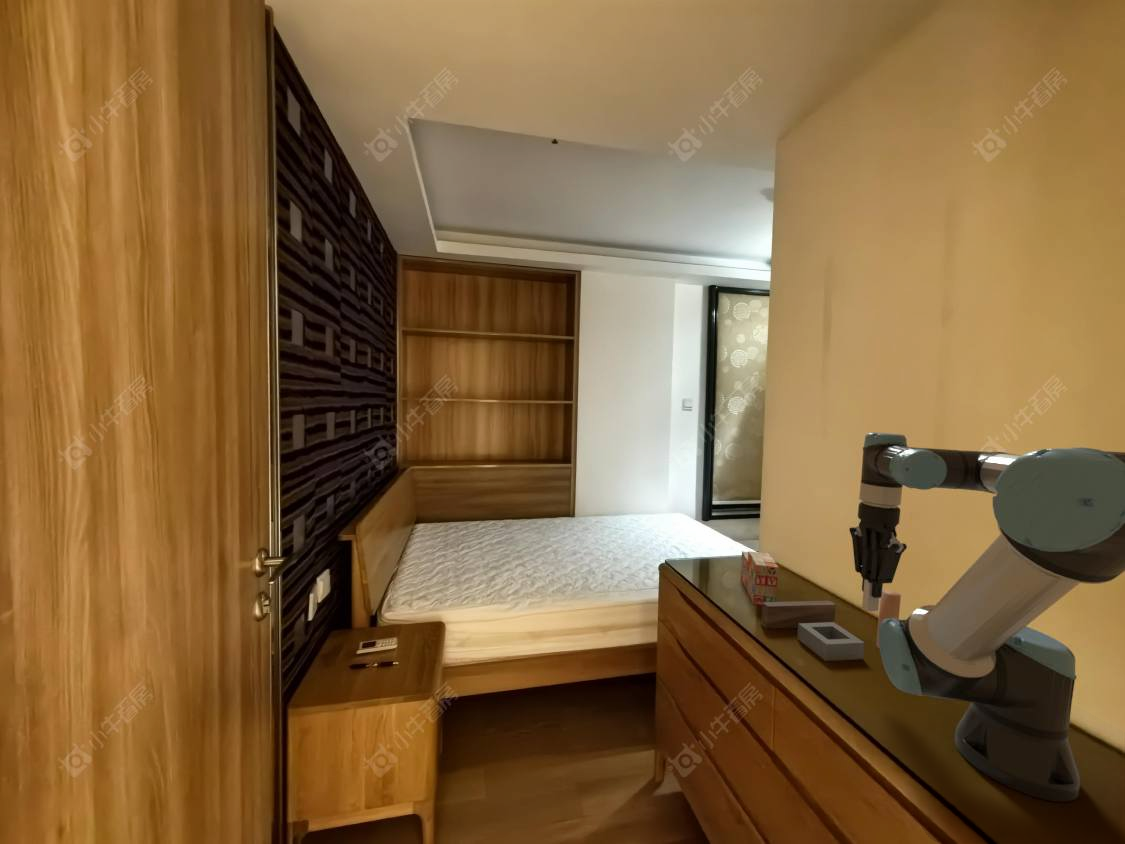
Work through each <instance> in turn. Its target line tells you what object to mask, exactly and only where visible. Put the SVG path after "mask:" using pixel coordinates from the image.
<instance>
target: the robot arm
mask: <svg viewBox="0 0 1125 844" xmlns="http://www.w3.org/2000/svg"><path fill="white" fill-rule="evenodd" d="M907 441H908V440H907V437H906V436H905V434H904V435H903V434H901V433H891V432H890V433H888V432H875V431H874V432H868V433H867V434H866V435H865V437H864V443H863V447H862V462H861V476H860V478H861V479H860V488H859V496H858V499H859V500H860V502H858V507H857V508H858V511H857V518H858V519H859V520H860V522H859V523H858V525H857V526H856V527H849V534H850V536H851V539H852V550H853V562H854V570H855V572H856V573H859V574H860V576H861V578H862V582H861V584H862V585H861V591H862V593H863V594H862V603H861V604H862V605H861V606H862V607H861V609H863V610H865V611H867V612H879V608H880V598H881V596H882V590H883V587H884V586H883V585H884V584H892V583H893V580H894V578H895V575H896V572H897V569H898V566H899V563H900V560H901V557H902V554H903V553H904V552H905V550H907V548H908V546H907V544H906V543H901V542H900V540H899V539H898V538H897V535H898V534H897V530H896V527H897V526H898V525H899V524H900V517H901V508H900V507H899V506H900V505H901V503H902V492H903V487H907V488H909V489H916V490H923V491H925V490H927V491H928V490H930V489H931V490H932V489H934V488H935V489H948V490H949V489H950V490H952V489H953V490H967V491H975V492H976V491H977V492H984V493H987V494H988V493H989V494H994V495H993V496H992V510H993V514H994V518H995V520H996V522H997V528H998V531H999V533H1000V534H999V535H998V536H997V538H995V540H994V541H993V542H992V543H991V544H990V545H989V546H988V547H987V548H986V549H985V550H984V552H982V554H980V556H979V557H978V558H976V559H977V560H975V561H974V563H973V564H972V565H971V566H970V567H969V568H968V569H967V570H966V571H965V572H964V573H963V574H962V576H961V577H960V578H959V579H958V580H957V581H956V582H955V583H954V584H953V585H952V587H951V588H950V589H949V590H948V591H947V592H946V593H945V594H944V595H943V596H942V598H940V600H939V601H937V603H936V604H929V605H927V604H926V605H923V606H920V607H918V608H916V609H915V610H913V612H912V613H911V614H910V615H909V616H908V617H907V618H906V619H899V620H897V618H892V619H884V620H883V621H882V622H881V624H880V627H879V648H880V649H879V648H878V649H879V652H880V657H881V661H882V666H883V668H884V670H885V672H886V675H887V676H888V678H889V680H890V682H891V683H892V684H893V685H894V686H895V688H896V689H898V690H899V691H901V692H903V693H907V694H912V695H917V696H919V697H922V696H925V697H931V698H940V699H947V700H955V701H961V702H969V703H970V705H969V707H968V708H967V709H966V711H965V713H964V714H963V716H962V717H961V719H960V720H959V722H958V724H957V725H956V727H955V733H954V744H955V747H956V749H957V750H958V751H959V753H960V754H961V756H962V757H963V758H964V759H965V760H967V762H968V763H970V764H971V765H972V766H974V767H975V769H977V770H978V771H980V772H981V773H983V774H984V775H986V776H988V777H989V778H991V779H993V780H994V781H997V782H998V783H1000V784H1002V785H1004V786H1006V787H1008V788H1010V789H1013V790H1015V791H1017V792H1019V793H1022V794H1025V795H1028V796H1031V797H1035V798H1038V799H1040V800H1041V799H1042V800H1045V801H1052V802H1057V803H1058V802H1060V803H1061V802H1063V803H1065V802H1071V801H1074V800H1075V799H1077V798H1078V796H1079V794H1080V793H1079V792H1080V785H1081V784H1080V783H1081V779H1080V778H1081V777H1080V774H1079V771H1078V768H1077V765H1076V762H1075V758H1074V755H1073V752H1072V749H1071V745H1070V743H1069V730H1070V729H1069V728H1070V722H1071V721H1070V720H1071V712H1072V705H1073V704H1072V703H1073V696H1074V688H1075V683H1076V681H1075V680H1077V675H1076V657H1075V655H1074V652H1073V650H1071V649H1070V648H1069V647H1068V646H1067V645H1065V644H1064V643H1062V642H1061V641H1059V640H1057V639H1056V638H1054V637H1052V636H1050V635H1048V634H1046V633H1045V632H1042V631H1039V630H1036V629H1034V628H1032V627H1028V625H1030V624H1031V623H1032V622H1033V621H1035V620H1036V619H1037V618H1038V617H1040V616H1041V615H1042V614H1043V613H1045V612H1046V611H1047V610H1048V609H1049V608H1050V607H1052V606H1053V605H1055V604H1056V603H1057V602H1058V601H1059V600H1061V599H1062V598H1063V597H1064V596H1065V595H1067V594H1069V592H1071V591H1072V590H1074V589H1075V588H1076V587H1078V585H1079V584H1089V585H1090V584H1091V585H1099V584H1105V583H1108V582H1111V581H1113V580H1115V579H1116V578H1117V577H1119V576H1120V575H1121V574H1122V573H1124V572H1125V451H1108V450H1107V451H1106V450H1105V451H1104V450H1101V449H1098V448H1097V449H1095V448H1092V447H1091V448H1089V447H1082V446H1081V447H1073V446H1071V447H1065V448H1042V449H1035V450H1033V451H1028V452H1026V453H1024V454H1016V453H1008V452H1005V451H1004V452H1003V451H980V450H960V449H959V450H958V449H946V448H944V449H943V448H932V447H931V448H930V447H929V448H928V447H926V448H925V447H912V446H908V443H907Z"/></svg>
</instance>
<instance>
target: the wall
mask: <svg viewBox="0 0 1125 844" xmlns="http://www.w3.org/2000/svg"><path fill="white" fill-rule="evenodd" d="M836 605H837V604H836V603H834V602H833V601H831V600H804V601H803V600H801V601H800V600H799V601H776V602H763V605H761V606H762V609H761V621H760V622H761V623H760V625H761V624H762V625H761V626H762V627H764V628H765V627H766V628H770V629H790V628H793V629H794V628H795V629H796V628H797V629H798V623H824V622H834V623H835V618H836ZM766 628H765V629H766Z"/></svg>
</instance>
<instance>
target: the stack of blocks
mask: <svg viewBox="0 0 1125 844" xmlns="http://www.w3.org/2000/svg"><path fill="white" fill-rule="evenodd" d="M740 571H741V573H740V579H741V581H742V583H743V586H744V588H745V589H746V591H747V593H748V596H749V598H750V600H751V603H752V605H755V606H756V605H758V606H763V602H777V590H778V589H777V587H778V579H779V565H778V564H777V562H776V561H775V560H774V558H773V557H772V556H771V555H770V554H769V553H768V552H760V551H759V552H758V551H750V550H749V551H744V550H743V551H741V569H740Z"/></svg>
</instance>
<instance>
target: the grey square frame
mask: <svg viewBox="0 0 1125 844" xmlns="http://www.w3.org/2000/svg"><path fill="white" fill-rule="evenodd" d="M796 638H797V640H798V641H800V643H802V644H803V645H804V646H806V647H807V648H808V649H810V650H811V651H812V652H813V653H814V654H816V655H817V656H818V657H820V658H821V659H822V660H824V661H825V662H833V661H836V662H837V661H851V660H864V654H865V653H864V652H865V642H864V641H863V640H861V639H860V638H858V637H857V636H856V635H854V634H852V633H851V632H849V631H848V630H846V629H845V628H843V627H842V626H840V625H838V623H835V621H834V622H824V623H798V627H797V636H796Z"/></svg>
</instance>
